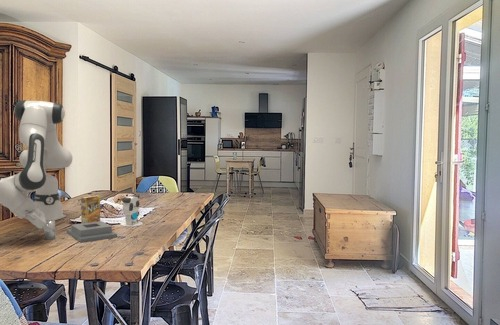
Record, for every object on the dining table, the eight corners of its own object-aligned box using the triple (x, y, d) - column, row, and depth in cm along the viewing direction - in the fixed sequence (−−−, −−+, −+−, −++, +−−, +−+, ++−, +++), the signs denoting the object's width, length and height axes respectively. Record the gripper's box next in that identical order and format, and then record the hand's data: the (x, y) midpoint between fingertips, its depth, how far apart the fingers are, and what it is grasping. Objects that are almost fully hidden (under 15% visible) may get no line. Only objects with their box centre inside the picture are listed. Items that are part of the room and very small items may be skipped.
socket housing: (66, 232, 187) (66, 223, 187) (100, 228, 197) (100, 219, 197) (80, 242, 170) (80, 232, 170) (117, 237, 180) (117, 227, 180)
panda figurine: (135, 227, 201) (135, 198, 200) (115, 226, 203) (115, 197, 202) (146, 222, 212) (146, 195, 211) (127, 221, 215) (127, 194, 214)
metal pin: (43, 238, 176) (43, 220, 176) (54, 236, 179) (53, 219, 179) (45, 240, 173) (45, 222, 173) (56, 238, 176) (56, 221, 175)
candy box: (86, 227, 198) (86, 197, 197) (80, 226, 200) (80, 197, 199) (100, 224, 206) (100, 195, 205) (95, 223, 208) (95, 195, 207)
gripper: (31, 207, 163) (58, 228, 168) (31, 200, 180) (55, 219, 186) (19, 219, 161) (46, 239, 166) (20, 210, 178) (44, 229, 184)
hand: (51, 228), depth 176 cm, fingers open, 8 cm apart
